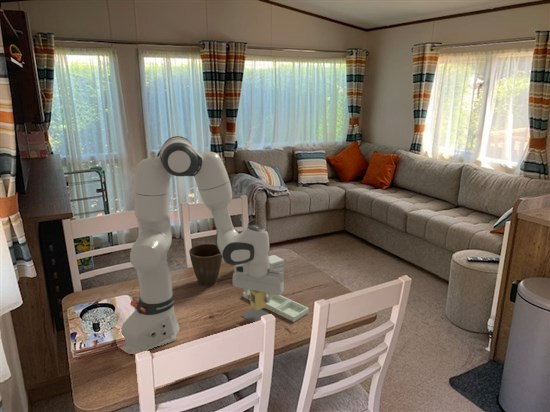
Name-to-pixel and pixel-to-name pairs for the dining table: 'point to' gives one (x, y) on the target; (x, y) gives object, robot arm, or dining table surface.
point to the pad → (254, 315)
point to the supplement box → (276, 264)
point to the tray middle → (276, 302)
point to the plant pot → (206, 263)
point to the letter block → (257, 299)
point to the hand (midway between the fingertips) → (258, 300)
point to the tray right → (292, 310)
